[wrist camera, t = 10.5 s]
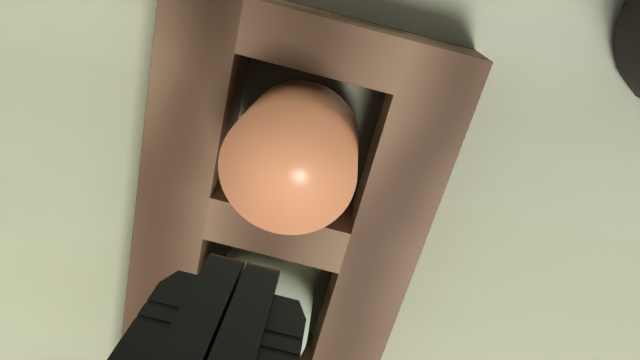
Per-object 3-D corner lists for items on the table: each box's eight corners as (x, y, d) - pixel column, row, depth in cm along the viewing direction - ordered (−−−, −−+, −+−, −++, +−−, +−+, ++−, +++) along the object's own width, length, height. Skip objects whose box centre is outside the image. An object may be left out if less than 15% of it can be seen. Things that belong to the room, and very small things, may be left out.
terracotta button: (372, 97, 20) (374, 125, 16) (342, 202, 22) (337, 249, 18) (255, 66, 20) (230, 87, 16) (234, 175, 22) (208, 216, 18)
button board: (475, 50, 20) (493, 61, 17) (322, 472, 30) (318, 522, 28) (188, -26, 20) (160, -26, 17) (131, 425, 30) (107, 470, 27)
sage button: (326, 249, 24) (319, 299, 20) (304, 326, 26) (294, 385, 22) (229, 225, 24) (205, 270, 20) (214, 304, 26) (189, 359, 22)
